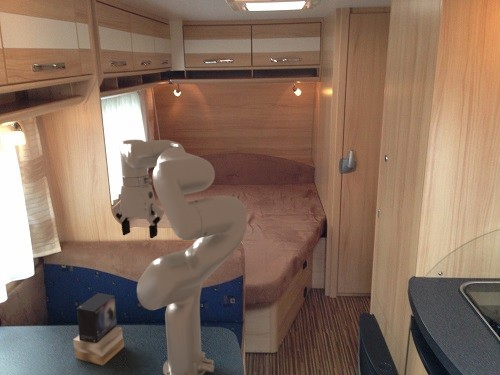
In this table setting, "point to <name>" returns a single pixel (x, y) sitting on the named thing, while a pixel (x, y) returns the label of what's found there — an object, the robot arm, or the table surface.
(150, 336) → the table surface
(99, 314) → the small box
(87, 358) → the oak slab
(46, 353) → the table surface
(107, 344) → the ash slab
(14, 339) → the table surface
